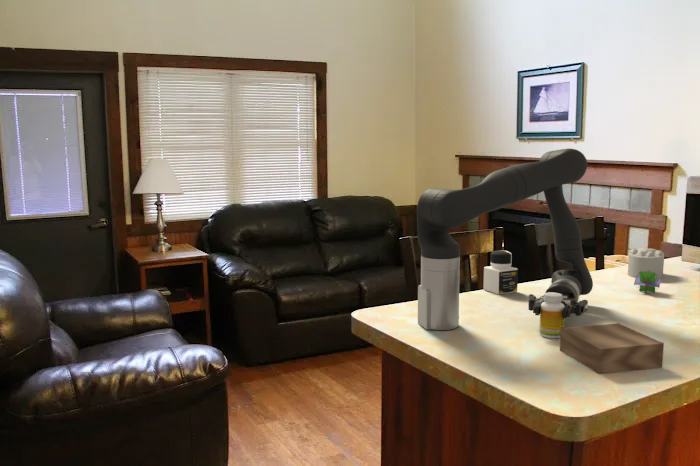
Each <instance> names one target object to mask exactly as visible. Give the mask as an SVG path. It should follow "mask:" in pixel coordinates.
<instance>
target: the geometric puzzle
mask: <svg viewBox="0 0 700 466" xmlns="http://www.w3.org/2000/svg"><path fill="white" fill-rule="evenodd" d="M648 271H649V272H647V271H646V272H639V273H640V277H637V276H636V278H634V279H635V280H634V283H633V285H634V286H636V285H637V286H638V287H637V286H636V289H638V291H639V292H642V293H643V294H644V295H646V293H653V294H654V293H656V291H658V289H660V287H661V282H662V278H660V277H659V276H658V275H657V273H655V272H653V271H650V270H648ZM638 275H639V274H638Z"/></svg>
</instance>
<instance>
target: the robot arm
mask: <svg viewBox="0 0 700 466" xmlns="http://www.w3.org/2000/svg"><path fill="white" fill-rule="evenodd" d="M587 168H588V161H587V158H586V156H585V155H584V153H582V151H580V150H577V149H575V148H561V149H556V150H549V151H547V152H545V153H543V154H542V155H541V156H540V158H539V161H534V162H524V163H521V164H515V165H514V164H513V165H511V166H506V167H504V168H501V169H497V170H495V171H492V172H491V173H489V174H487V176H485V178H484V179H483V180H482V181H481V182H480V183H478V184H477V185H473V186H471V187H466V188H465V187H464V188H461V189H447V188H437V187H433V188H432V187H431V188H427V189H426V190H424V191H423V192H422V193H421V195H420V196H419V199H418V202H417V207H416V226H417V227H416V228H417V229H416V231H417V243H418V246H419V248H420V254H421V255H420V284H419V285H418V286H417V323H418V324H419V325H420V326H421V327H423V329H425V330H434V331H449V330H454V329H457V328H459V325H460V273H461V272H460V262H461V248H460V244H459V243H458V242H457V241H456V240H455V239H453V237H452V236H451V234H450V232H449V231H450V230H451V229H452V230H453V229H457V228H459V227H462V226H463V225H466V224H467V223H469V222H470V221H472V220H474V219H476V218H478V217H480V216H482V215H484V214H487V213H489V212H494V211H497V210H499V209H502V208H505V207H508V206H511V205H514V204H516V203H519V202H521V201H524V200H526V199H529V198H531V197H534V196H535V195H538V194H540V193H542V192H543V194H544V198H545V202H546V206H547V210H548V212H549V216H550V217H549V218H550V220H551V226H552V233H553V234H552V235H553V245H554V253H555V258H556V260H558V261H559V262H562V263H563V262H564V263H568V264H569V263H570V264H572V265H573V266H574V267H575V268H574V269H573V268H572V269H560V270H559V269H558V270H555V271H554V272H553V273H552V275H551V284H550V285H549V286H548V288H547V289H546V290H545V292H544V293H548V292H554V293H560V294H562V301H561V303H562V304H564V306H565V307H564V309H563V318H564V319H565V320H566V319H567V318H570V317H571V316H573V314H574V315H575V316H576V317H579V316H583V315H584V314H585V313H587V312H588V306H589V300H587V299H582V300H579V299H580V296H585V295H589V294H590V293H591V291H592V290H593V288H594V287H593V286H594V283H593V282H594V281H593V278H592V275H591V273H590V270H589V269H588V265H587V263H586V261H585V257H584V252H583V242H582V234H581V228H580V226H579V223H578V221H577V219H576V217H575V215H574V214H573V212H572V211H571V210H570V208H569V205H568V204H567V201H566V199H565V196H564V191H563V185H567V184H574V183H577V182H578V181H580V180H581V179H582V178H583V176H584V175H585V174H586V171H587ZM543 302H545V300H544V295H541V296H540V297H537V296H536V295H534V294H528V310H529V311H530V312H531V311H532V312H533V314H534V315H535V316H539V317H540V306H541V304H542V303H543Z"/></svg>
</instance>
